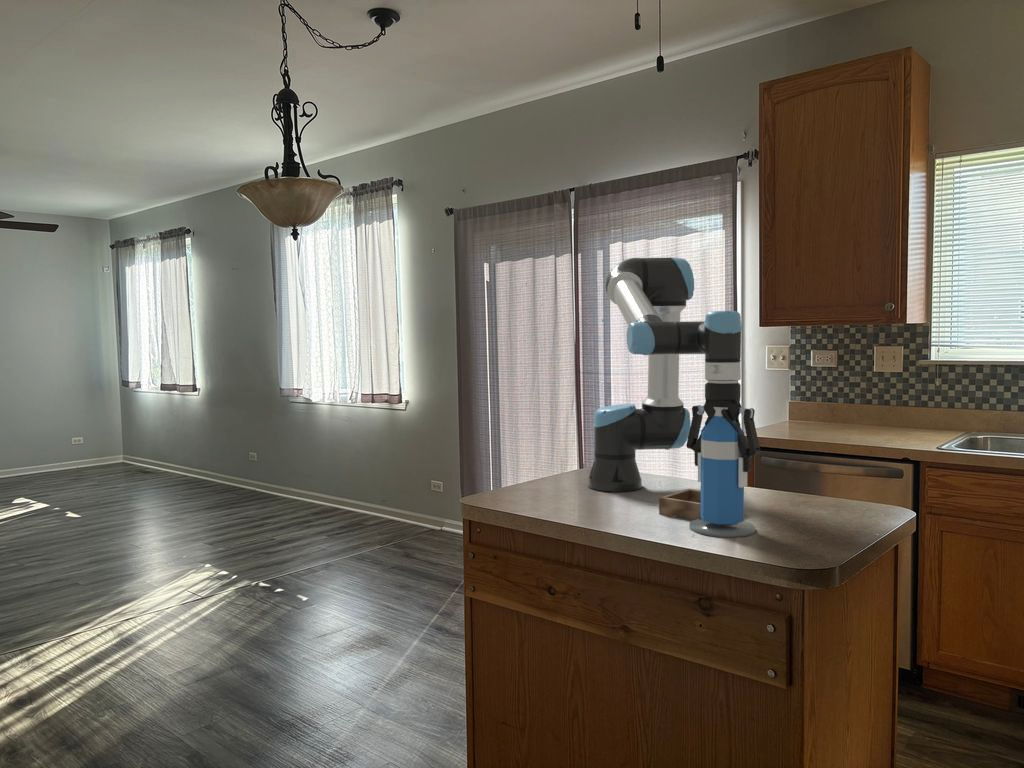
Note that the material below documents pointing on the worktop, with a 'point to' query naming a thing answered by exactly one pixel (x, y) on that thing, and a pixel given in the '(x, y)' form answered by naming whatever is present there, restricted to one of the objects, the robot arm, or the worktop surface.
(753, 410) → the robot arm
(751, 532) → the coaster
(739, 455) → the water bottle
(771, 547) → the worktop surface
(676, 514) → the square wooden frame
